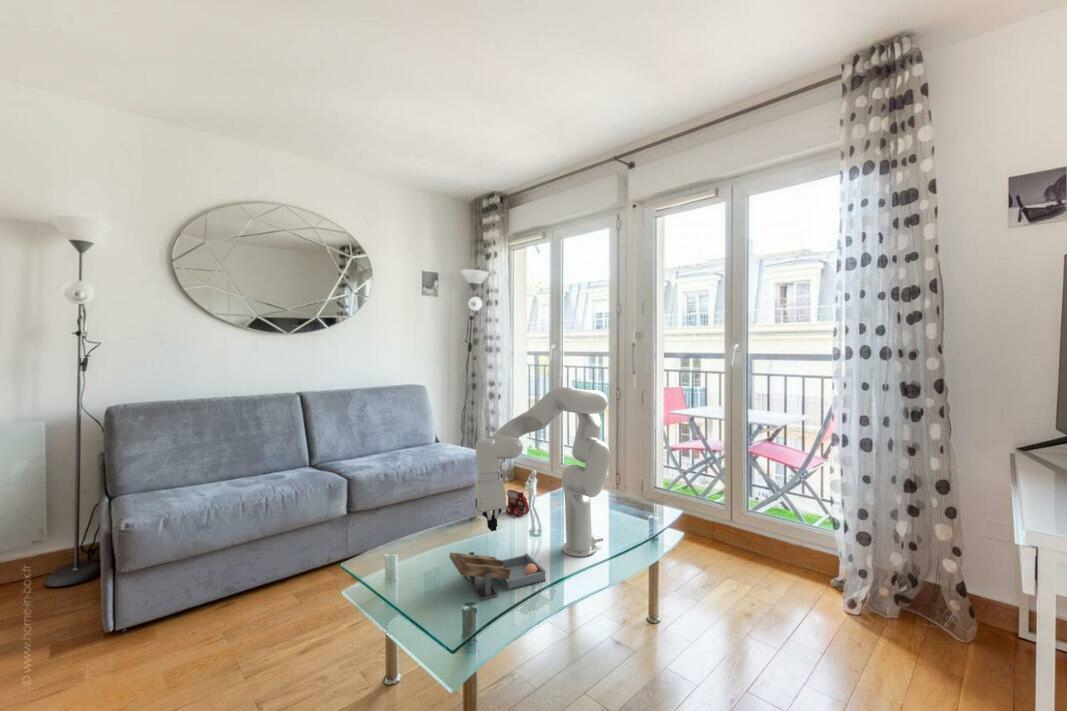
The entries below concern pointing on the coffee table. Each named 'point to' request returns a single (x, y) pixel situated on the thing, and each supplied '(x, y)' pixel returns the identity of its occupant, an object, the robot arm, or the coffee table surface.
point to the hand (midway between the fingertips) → (492, 529)
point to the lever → (479, 565)
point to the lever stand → (482, 585)
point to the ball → (530, 569)
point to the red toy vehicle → (516, 503)
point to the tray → (522, 572)
